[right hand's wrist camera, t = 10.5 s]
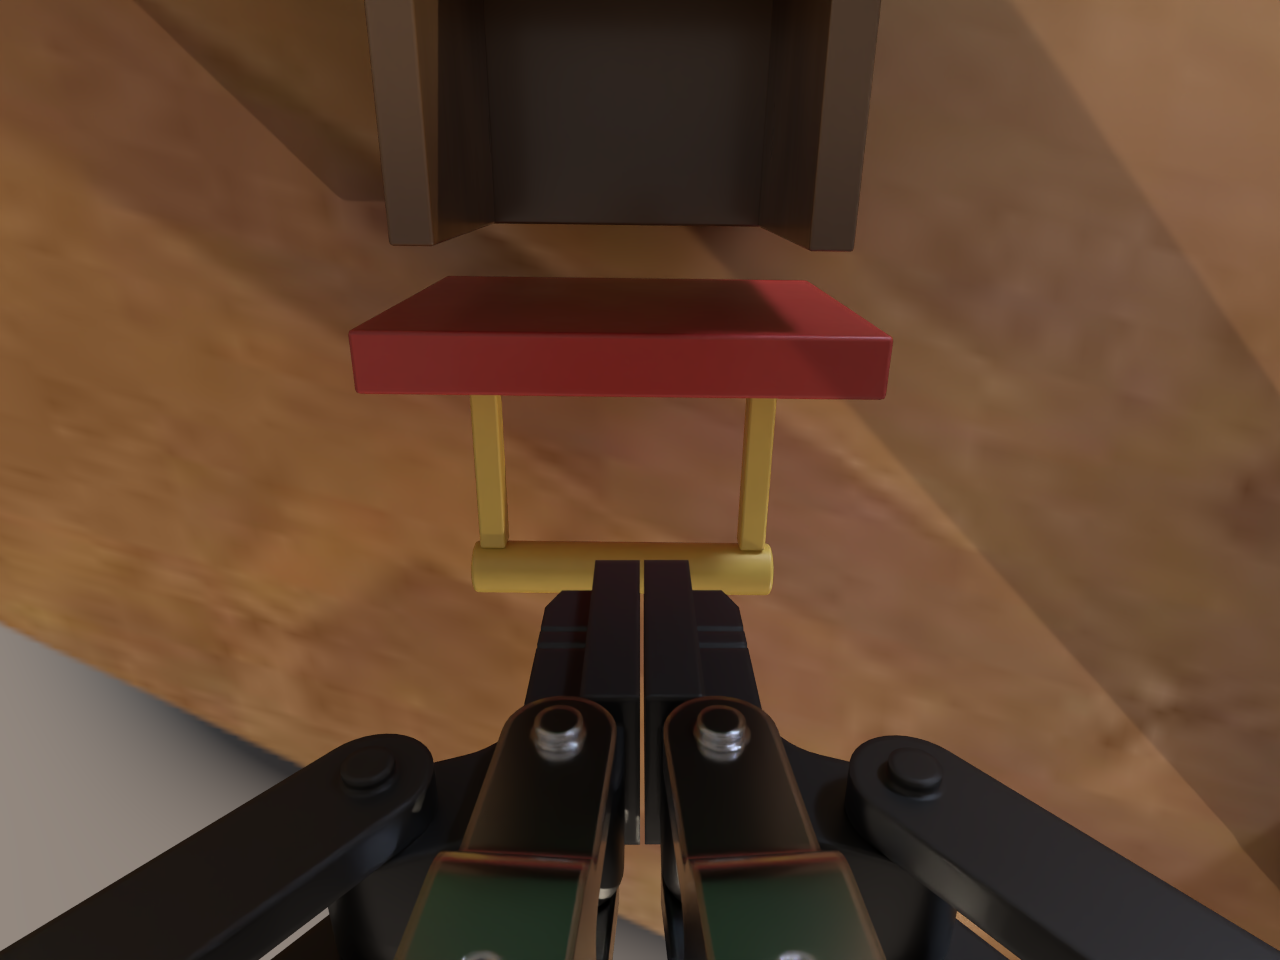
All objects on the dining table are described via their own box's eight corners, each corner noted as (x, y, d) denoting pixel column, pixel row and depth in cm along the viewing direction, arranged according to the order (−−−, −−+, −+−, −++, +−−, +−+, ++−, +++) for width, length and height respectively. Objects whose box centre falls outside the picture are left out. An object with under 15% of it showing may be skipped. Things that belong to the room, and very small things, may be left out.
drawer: (788, 508, 24) (852, 656, 17) (464, 505, 24) (387, 652, 16) (895, -680, 15) (1144, -1503, 7) (369, -690, 15) (106, -1529, 7)
